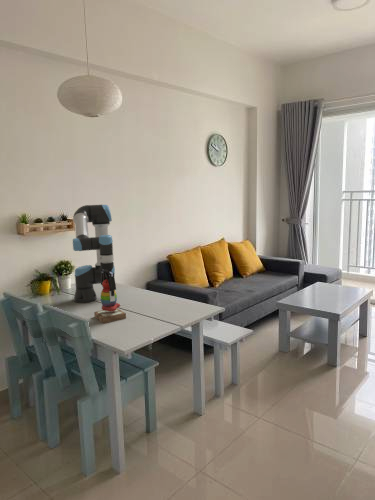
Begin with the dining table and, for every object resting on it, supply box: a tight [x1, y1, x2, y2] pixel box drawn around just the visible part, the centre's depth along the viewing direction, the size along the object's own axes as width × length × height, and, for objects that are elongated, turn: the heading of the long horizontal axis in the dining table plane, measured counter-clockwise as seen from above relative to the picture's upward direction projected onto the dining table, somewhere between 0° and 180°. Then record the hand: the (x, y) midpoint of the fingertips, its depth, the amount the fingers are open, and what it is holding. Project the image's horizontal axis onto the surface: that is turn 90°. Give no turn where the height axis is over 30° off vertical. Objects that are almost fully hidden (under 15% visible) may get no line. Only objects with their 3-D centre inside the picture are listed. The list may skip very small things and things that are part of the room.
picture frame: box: [94, 307, 127, 324], centre depth 228 cm, size 14×14×3 cm
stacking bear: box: [100, 279, 121, 311], centre depth 225 cm, size 11×10×18 cm
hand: (109, 299), depth 226 cm, fingers closed on stacking bear, 9 cm apart
